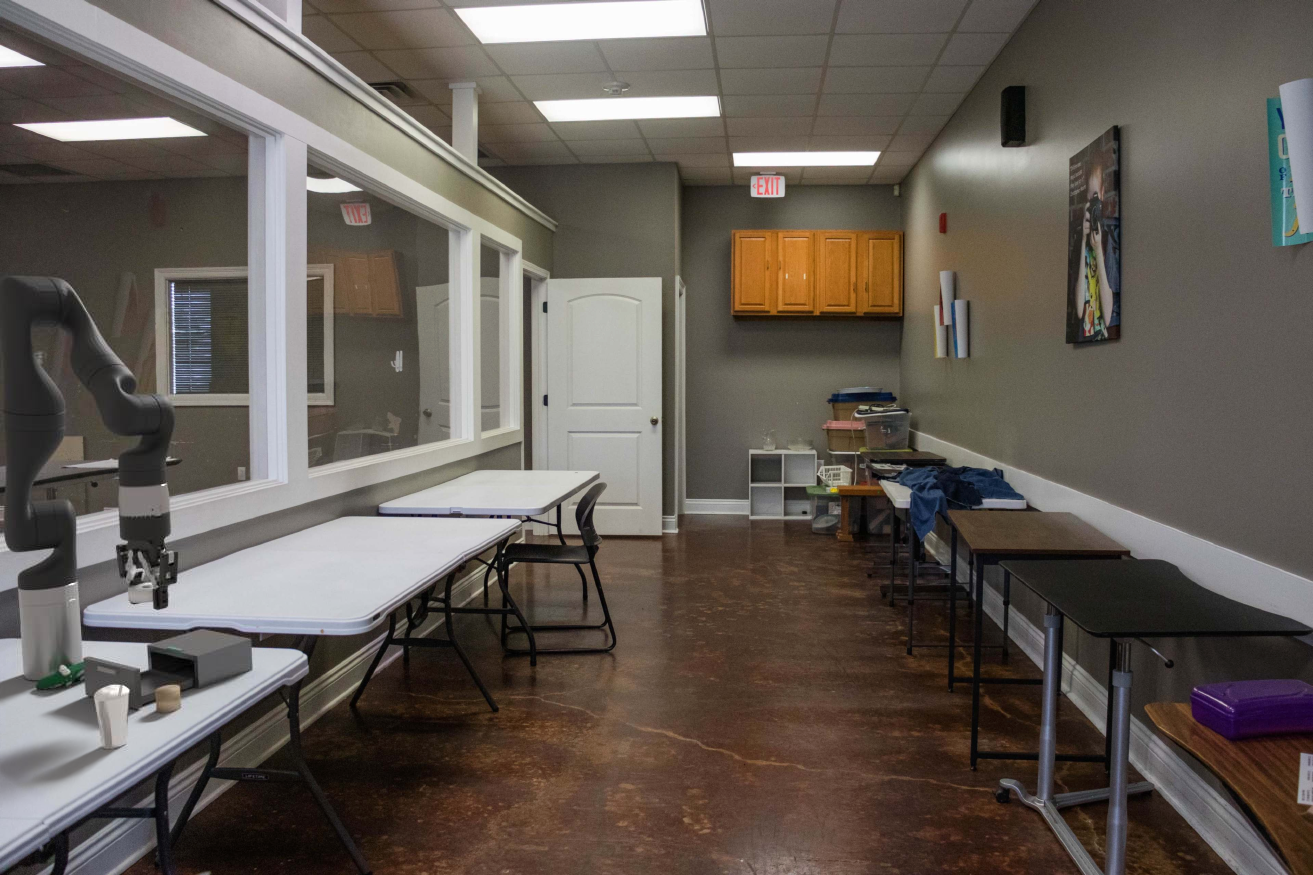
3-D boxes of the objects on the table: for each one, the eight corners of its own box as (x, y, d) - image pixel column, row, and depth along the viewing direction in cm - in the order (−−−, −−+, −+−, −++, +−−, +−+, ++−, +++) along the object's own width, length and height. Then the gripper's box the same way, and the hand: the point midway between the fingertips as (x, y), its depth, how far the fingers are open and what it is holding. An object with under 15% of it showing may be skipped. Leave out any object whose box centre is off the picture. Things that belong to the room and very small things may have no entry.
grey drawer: (147, 674, 159) (145, 640, 158) (197, 687, 152) (195, 651, 152) (83, 695, 149) (80, 658, 148) (133, 710, 142) (131, 671, 141)
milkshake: (109, 754, 126) (105, 689, 125) (91, 746, 129) (87, 683, 128) (140, 743, 130) (137, 680, 129) (123, 735, 132) (119, 673, 132)
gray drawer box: (203, 658, 169) (201, 627, 168) (252, 669, 162) (251, 637, 162) (148, 675, 159) (147, 643, 159) (199, 688, 152) (197, 654, 152)
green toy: (44, 701, 152) (62, 680, 151) (31, 685, 153) (49, 664, 151) (89, 683, 161) (106, 663, 160) (77, 668, 162) (94, 648, 160)
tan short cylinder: (151, 710, 142) (150, 690, 142) (172, 703, 146) (171, 683, 145) (165, 714, 141) (163, 694, 140) (185, 706, 144) (184, 686, 144)
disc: (120, 599, 144) (120, 587, 144) (155, 591, 150) (154, 579, 150) (142, 604, 142) (141, 592, 142) (176, 596, 147) (176, 584, 147)
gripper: (97, 510, 144) (102, 605, 146) (148, 517, 138) (153, 617, 139) (140, 503, 151) (145, 595, 153) (192, 510, 144) (196, 606, 146)
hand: (149, 605), depth 146 cm, fingers closed on disc, 6 cm apart
